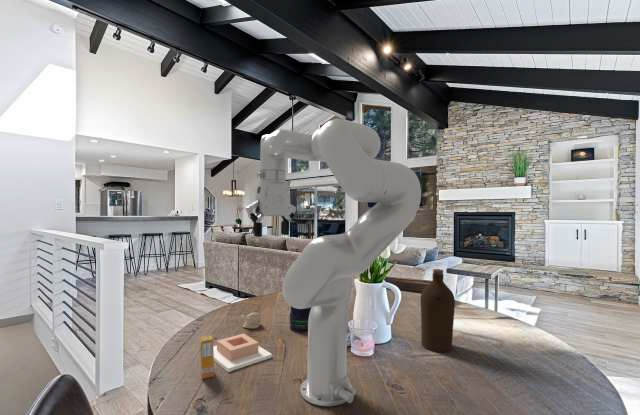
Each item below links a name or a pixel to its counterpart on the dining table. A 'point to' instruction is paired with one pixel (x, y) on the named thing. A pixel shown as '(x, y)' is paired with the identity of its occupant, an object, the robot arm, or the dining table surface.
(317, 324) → the robot arm
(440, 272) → the olive oil
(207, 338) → the supplement box
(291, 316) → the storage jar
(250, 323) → the decorative ornament
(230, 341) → the socket holder
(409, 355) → the dining table surface
